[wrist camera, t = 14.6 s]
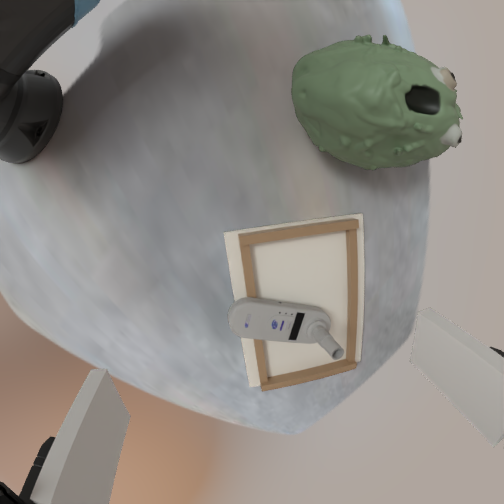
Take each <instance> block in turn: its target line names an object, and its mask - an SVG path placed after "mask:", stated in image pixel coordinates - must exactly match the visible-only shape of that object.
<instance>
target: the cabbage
mask: <svg viewBox="0 0 504 504" xmlns="http://www.w3.org/2000/svg"><path fill="white" fill-rule="evenodd" d="M456 85H457V83H456V80H455V77H454V74H453V73H451V72H450V71H449V70H448V69H447V68H446V67H441V68H438V67H437V66H436V65H434V64H433V63H432V62H430V61H428V60H427V59H425V58H423V57H422V56H418V55H417V54H416V53H414V52H410V51H407V50H406V49H403V48H402V47H401V46H396V45H394V44H390V43H389V41H388V38H387V36H386V35H383V42H382V44H381V45H380V44H375V43H372V37H371V36H370V35H366V36H363V37H361V36H356V38H355V39H354V40H347V41H341V42H337V43H335V44H332V45H330V46H328V47H326V48H322V49H320V50H316V51H314V52H312V53H309V54H307V55H305V56H304V57H302V58H301V59H300V60H299V61H298V62H297V64H296V65H295V67H294V70H293V75H292V91H291V93H292V100H293V104H294V107H295V113H296V116H297V118H298V120H299V122H300V123H301V125H302V126H303V127H304V129H305V130H306V131H307V133H308V135H309V137H310V138H311V140H312V142H313V144H314V145H316V146H318V147H319V150H320V151H321V152H325V151H326V152H328V153H330V154H331V155H332V156H334V157H336V158H337V159H339V160H341V161H343V162H348V163H350V164H352V165H355V166H358V167H362V168H364V169H366V170H370V169H371V170H375V169H376V168H390V167H406V166H410V165H413V164H416V163H418V162H420V161H422V160H427V159H430V158H433V157H437V156H439V155H441V154H442V153H443V152H445V151H446V150H447V149H448V148H449V147H450V146H452V147H455V148H456V146H457V145H458V144H459V143H460V142H461V137H462V131H461V129H460V127H459V118H461V119H463V117H462V115H461V113H460V108H459V106H458V105H457V104H456V97H457V95H456V92H457V90H455V89H454V88H455V87H456Z"/></svg>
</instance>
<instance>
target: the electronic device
mask: <svg viewBox="0 0 504 504" xmlns="http://www.w3.org/2000/svg"><path fill="white" fill-rule="evenodd" d="M228 322H229V326H230V328H231V330H232V331H233V333H234V334H236V335H237V336H239V337H242V338H249V339H258V340H268V341H279V342H291V343H306V344H313V343H318V344H319V345H320V346H321V347H322V348H324V349H325V351H326V352H327V353H328V354H329V355H330V356H331V358H332V359H334V360H338V359H340V358H341V357H342V356H343V354H344V349H343V348H342V347H341V346H340V345H339V344H338V343H337V342H336V341H335V340H334V338H333V336H332V335H331V334H330V333H329V330H330V328H331V320H330V317H329V316H328V315H327V314H326V313H325V312H324V311H323V310H322V309H321V308H319V307H316V306H309V305H301V304H294V303H287V302H280V301H273V300H265V299H258V298H252V297H244V298H240V299H238V300H236V301H235V302H234V303H233V304H232V305H231V306H230V308H229V311H228Z"/></svg>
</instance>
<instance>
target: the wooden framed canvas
mask: <svg viewBox="0 0 504 504" xmlns="http://www.w3.org/2000/svg"><path fill="white" fill-rule="evenodd" d="M224 238H225V245H226V251H227V258H228V264H229V270H230V277H231V283H232V289H233V295H234V301H236V300H238V299H240V298H244V297H252V298H258V299H265V300H273V301H280V302H287V303H294V304H301V305H309V306H316V307H319V308H321V309H322V310H323V311H324V312H325V313H326V314H327V315H328V316H329V317H330V320H331V328H330V330H329V333H330V334H331V335H332V336H333V338H334V340H335V341H336V342H337V343H338V344H339V345H340V346H341V347H342V348H343V349H344V354H343V356H342V357H341V358H340V359H338V360H334V359H332V358H331V356H330V355H329V354H328V353H327V352H326V351H325V349H324V348H322V347H321V346H320V345H319V344H318V343H313V344H306V343H291V342H279V341H268V340H258V339H249V338H242V337H241V342H242V348H243V353H244V359H245V364H246V370H247V375H248V380H249V386H250V387H255V386H261V389H262V391H267V390H272V389H277V388H282V387H287V386H291V385H296V384H300V383H304V382H309V381H313V380H317V379H321V378H324V377H328V376H332V375H335V374H339V373H342V372H346V371H349V370H352V369H356V366H357V363H356V362H359V361H360V360H361V348H362V334H363V316H364V230H363V214H362V213H357V214H349V215H341V216H333V217H326V218H318V219H310V220H303V221H296V222H288V223H281V224H274V225H267V226H260V227H253V228H247V229H240V230H233V231H227V232H224Z"/></svg>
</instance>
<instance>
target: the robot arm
mask: <svg viewBox="0 0 504 504" xmlns="http://www.w3.org/2000/svg"><path fill="white" fill-rule="evenodd" d="M99 1H100V0H0V159H1V160H3V161H5V162H9V163H22V162H26V161H28V160H30V159H32V158H33V157H35V156H36V155H37V154H38V153H39V152H40V151H41V150H42V149H43V148H44V147H45V146H46V145H47V143H48V142H49V140H50V139H51V137H52V135H53V133H54V131H55V129H56V127H57V124H58V122H59V119H60V115H61V111H62V102H63V96H62V90H61V86H60V84H59V82H58V81H57V79H56V78H55V77H53V76H52V75H50V74H48V73H47V72H45V71H41V70H28V69H29V68H30V67H31V66H32V64H33V63H34V62H35V61H36V60H37V59H38V58H39V57H40V56H41V55H42V54H43V53H44V52H45V51H46V50H47V49H48V48H49V47H50V46H51V45H52V44H53V43H55V42H56V41H57V40H58V39H59V38H60V37H61V36H62V35H63V34H65V32H67V31H68V30H69V29H70V28H73V27H74V26H75V25H76V24H77V23H78V21H79V20H80V19H82V18H83V17H84V16H85V15H86V14H87V13H89V12H90V11H91V10H92V9H93V8H95V7H96V6H97V4H98V3H99ZM410 362H411V363H412V364H413V365H414V366H415V367H416V368H417V369H418V370H419V371H420V372H421V373H422V374H423V375H424V376H425V377H426V378H427V379H428V380H429V381H430V382H431V383H432V384H433V385H434V386H435V387H436V388H437V389H438V390H439V391H440V392H441V393H442V394H443V395H444V396H445V397H446V398H447V399H448V400H449V401H450V402H451V403H452V404H453V405H454V406H455V407H456V408H457V409H458V410H459V412H460V413H461V414H462V415H463V416H464V417H465V418H466V419H467V420H468V421H469V422H470V423H471V424H472V425H473V426H474V427H475V428H476V429H477V430H478V431H479V433H480V434H481V435H482V436H483V437H484V438H485V439H486V440H487V441H488V442H489V443H490V444H491V445H492V446H493V447H494V446H495V445H496V444H497V443H499V442H500V441H501V440H502V439H503V438H504V352H502V351H501V350H498V349H495V348H493V347H488V346H487V345H485V344H484V343H482V342H481V341H479V340H478V339H477V338H475V337H474V336H472V335H471V334H469V333H468V332H466V331H465V330H464V329H462V328H461V327H459V326H458V325H456V324H455V323H453V322H451V321H450V320H449V319H447V318H446V317H444V316H442V315H441V314H439V313H438V312H436V311H435V310H433V309H432V308H427V309H425V310H422V311H419V312H418V316H417V323H416V330H415V336H414V342H413V348H412V353H411V358H410ZM129 420H130V414H129V412H128V411H127V409H126V407H125V405H124V403H123V401H122V399H121V397H120V395H119V394H118V391H117V389H116V387H115V385H114V383H113V381H112V379H111V377H110V375H109V373H108V370H107V369H92V370H91V371H90V373H89V375H88V376H87V378H86V380H85V382H84V384H83V385H82V387H81V389H80V391H79V393H78V395H77V396H76V398H75V400H74V402H73V404H72V406H71V408H70V410H69V412H68V414H67V416H66V418H65V420H64V422H63V424H62V426H61V428H60V430H59V432H58V434H57V436H56V437H50V438H49V439H47V440H46V441H45V443H44V444H43V445H42V446H41V448H40V450H39V452H38V455H37V457H36V459H35V461H34V466H32V467H31V470H30V472H29V474H28V477H27V479H26V481H25V483H24V486H23V488H22V491H21V493H20V495H19V496H17V495H16V494H15V493H14V492H13V491H12V490H11V489H10V488H8V487H7V486H6V485H5V484H4V483H3V482H0V504H109V501H110V496H111V491H112V487H113V482H114V478H115V474H116V470H117V466H118V462H119V458H120V453H121V450H122V446H123V442H124V438H125V435H126V431H127V427H128V424H129Z"/></svg>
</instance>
